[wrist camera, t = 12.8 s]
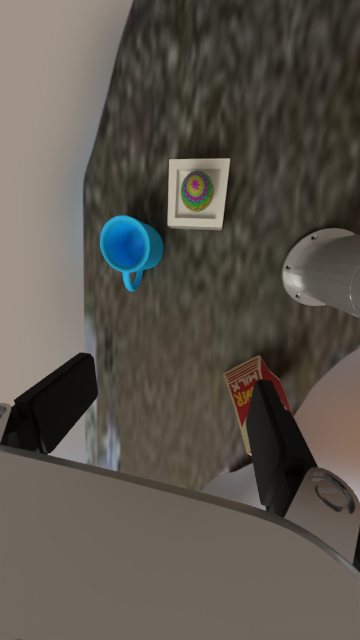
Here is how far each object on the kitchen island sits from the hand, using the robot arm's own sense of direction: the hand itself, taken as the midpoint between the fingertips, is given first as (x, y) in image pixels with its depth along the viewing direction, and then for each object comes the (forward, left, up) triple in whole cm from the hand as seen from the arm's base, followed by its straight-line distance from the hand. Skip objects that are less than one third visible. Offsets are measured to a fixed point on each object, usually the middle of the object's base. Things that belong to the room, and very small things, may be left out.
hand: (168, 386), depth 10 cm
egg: (+2, -16, -26) cm, 31 cm away
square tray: (+2, -16, -28) cm, 33 cm away
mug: (+12, -6, -29) cm, 32 cm away
